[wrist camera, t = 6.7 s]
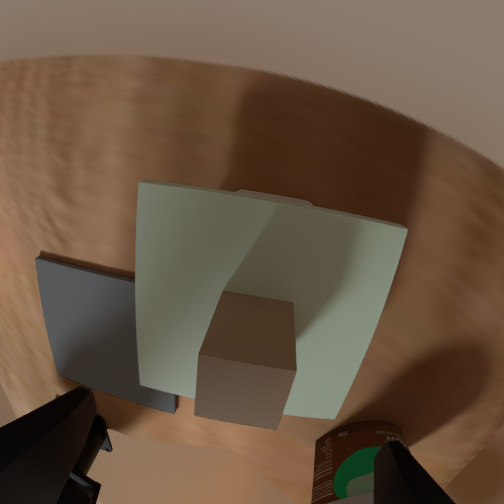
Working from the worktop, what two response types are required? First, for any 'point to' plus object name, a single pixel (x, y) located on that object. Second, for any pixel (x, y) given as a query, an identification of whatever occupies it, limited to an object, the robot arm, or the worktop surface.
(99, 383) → the mat
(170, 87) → the worktop surface
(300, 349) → the lid
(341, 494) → the food container
